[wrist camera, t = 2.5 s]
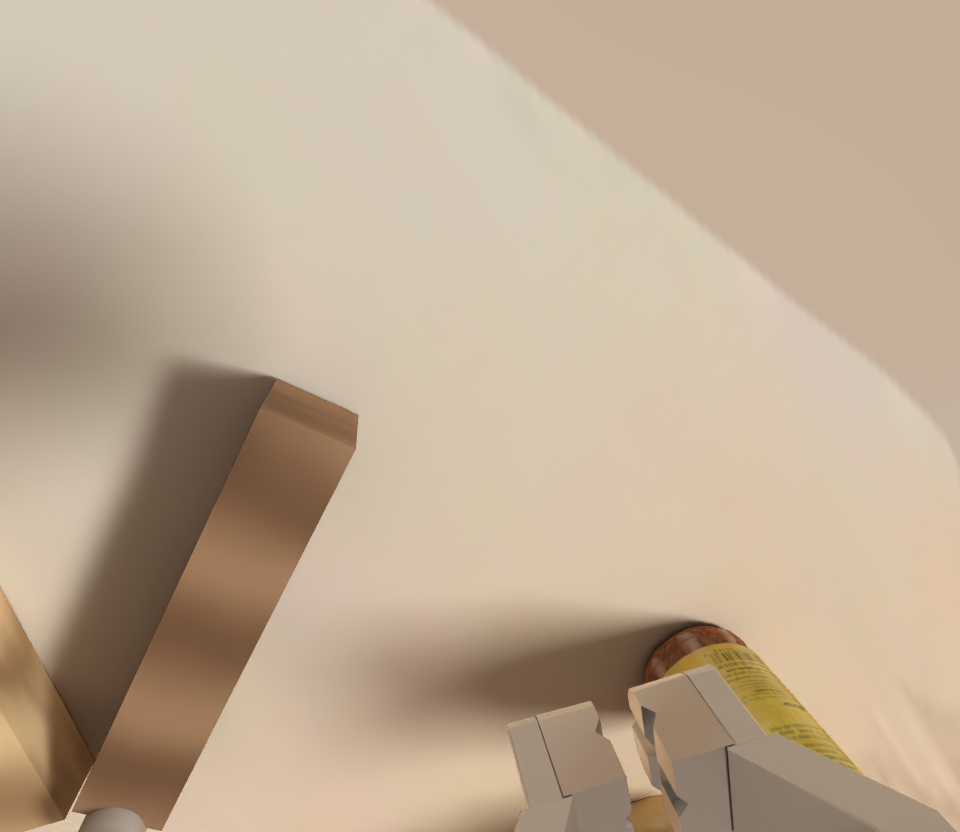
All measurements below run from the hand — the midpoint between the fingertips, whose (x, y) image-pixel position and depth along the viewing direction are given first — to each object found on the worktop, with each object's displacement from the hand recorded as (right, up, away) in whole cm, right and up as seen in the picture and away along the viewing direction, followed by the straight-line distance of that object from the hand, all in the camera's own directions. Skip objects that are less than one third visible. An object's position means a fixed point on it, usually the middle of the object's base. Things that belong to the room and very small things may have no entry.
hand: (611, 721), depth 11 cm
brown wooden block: (-14, -3, +16) cm, 21 cm away
